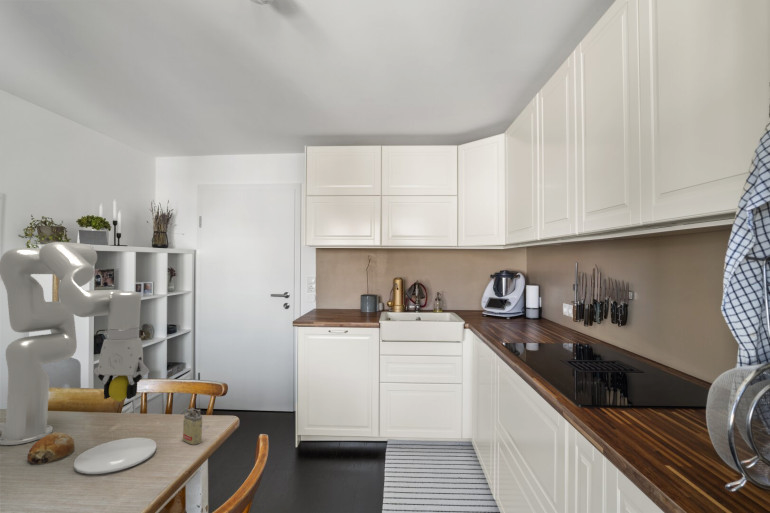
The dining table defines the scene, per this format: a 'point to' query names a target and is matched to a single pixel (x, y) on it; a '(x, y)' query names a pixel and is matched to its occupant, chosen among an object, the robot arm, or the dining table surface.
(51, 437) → the bread roll
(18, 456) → the dining table surface
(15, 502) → the dining table surface
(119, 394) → the lemon
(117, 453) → the plate
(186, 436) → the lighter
